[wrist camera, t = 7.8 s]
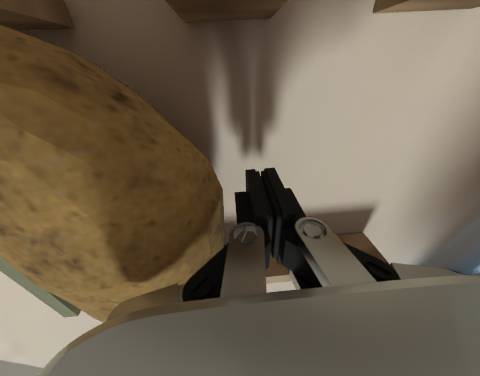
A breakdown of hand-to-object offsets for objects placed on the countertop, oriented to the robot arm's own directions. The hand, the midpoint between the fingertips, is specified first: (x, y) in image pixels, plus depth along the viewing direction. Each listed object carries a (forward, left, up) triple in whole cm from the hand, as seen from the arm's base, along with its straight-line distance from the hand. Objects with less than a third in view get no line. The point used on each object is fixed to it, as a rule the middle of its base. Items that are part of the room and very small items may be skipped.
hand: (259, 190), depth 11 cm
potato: (+7, -1, -3) cm, 7 cm away
